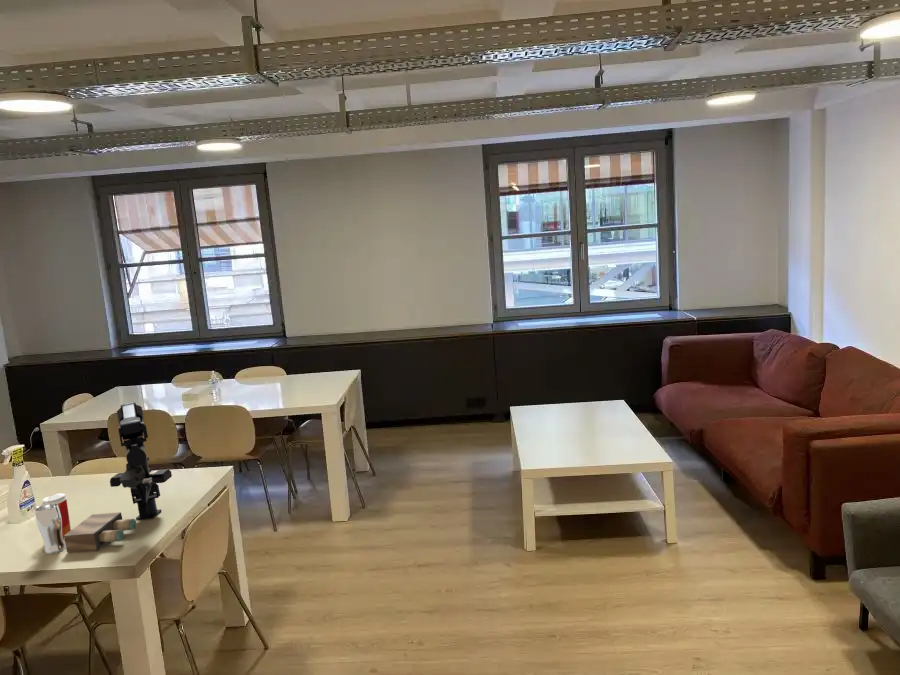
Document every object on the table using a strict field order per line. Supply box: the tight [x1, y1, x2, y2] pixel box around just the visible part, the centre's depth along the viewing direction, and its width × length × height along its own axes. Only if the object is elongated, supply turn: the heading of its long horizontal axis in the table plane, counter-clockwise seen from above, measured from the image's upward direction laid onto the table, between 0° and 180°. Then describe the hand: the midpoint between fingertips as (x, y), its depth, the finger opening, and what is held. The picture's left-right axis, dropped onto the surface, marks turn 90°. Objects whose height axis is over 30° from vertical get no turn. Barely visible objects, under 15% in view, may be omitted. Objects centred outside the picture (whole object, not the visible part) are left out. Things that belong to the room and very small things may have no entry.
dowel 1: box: [98, 530, 125, 543], centre depth 222 cm, size 4×9×4 cm, turn 86°
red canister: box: [41, 492, 72, 539], centre depth 233 cm, size 8×8×14 cm
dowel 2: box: [112, 518, 137, 532], centre depth 230 cm, size 4×9×4 cm, turn 86°
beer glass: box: [34, 503, 66, 555], centre depth 221 cm, size 7×7×15 cm
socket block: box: [63, 511, 123, 554], centre depth 226 cm, size 16×10×6 cm, turn 176°
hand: (145, 502), depth 228 cm, fingers closed
